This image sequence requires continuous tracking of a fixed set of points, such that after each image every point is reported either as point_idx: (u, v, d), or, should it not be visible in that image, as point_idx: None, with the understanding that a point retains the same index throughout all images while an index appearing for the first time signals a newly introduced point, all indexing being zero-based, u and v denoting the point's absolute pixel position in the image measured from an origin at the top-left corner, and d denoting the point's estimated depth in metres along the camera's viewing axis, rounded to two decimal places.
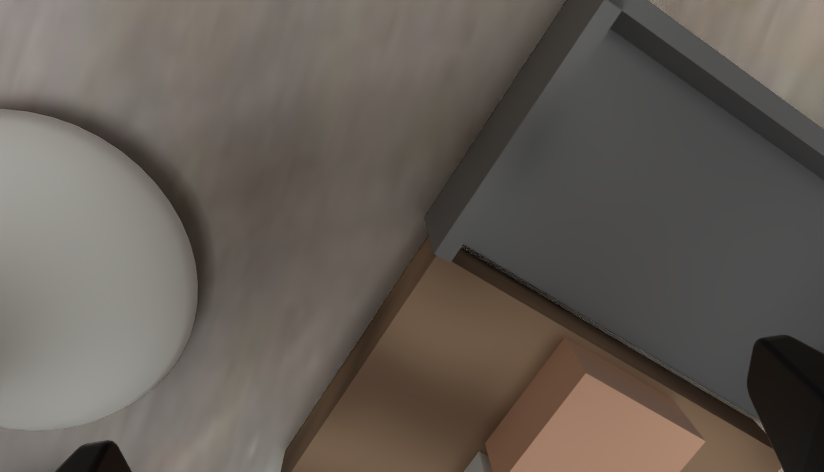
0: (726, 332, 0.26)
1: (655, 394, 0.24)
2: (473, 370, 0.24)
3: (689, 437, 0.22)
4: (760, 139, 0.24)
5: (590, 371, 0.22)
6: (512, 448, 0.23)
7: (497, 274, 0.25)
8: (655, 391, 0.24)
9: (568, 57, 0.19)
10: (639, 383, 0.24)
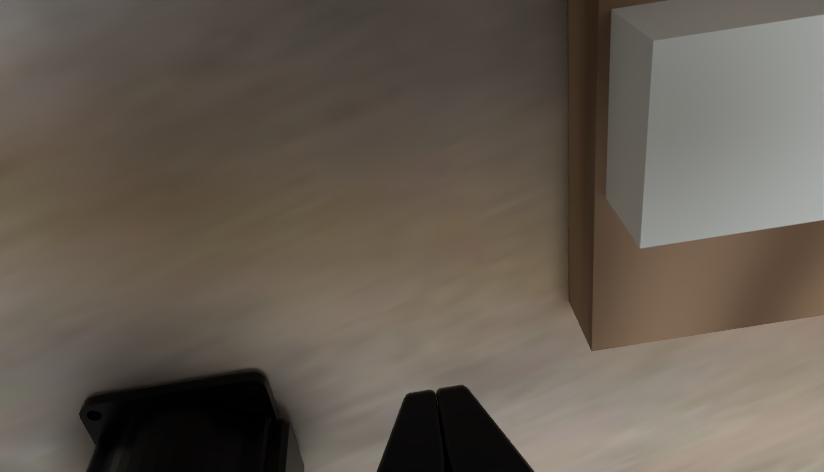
0: None
1: None
2: None
3: None
4: None
5: None
6: None
7: None
8: None
9: None
10: None
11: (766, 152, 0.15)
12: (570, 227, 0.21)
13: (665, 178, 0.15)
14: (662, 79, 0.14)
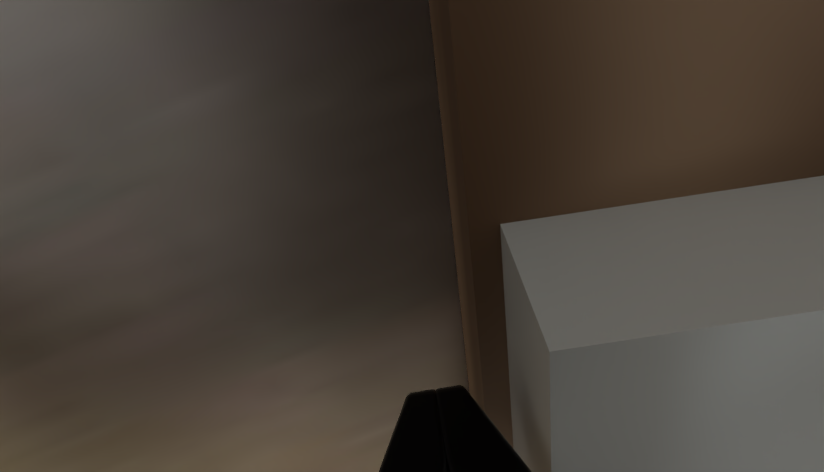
0: None
1: None
2: None
3: None
4: None
5: None
6: None
7: None
8: None
9: None
10: None
11: None
12: None
13: None
14: (572, 406, 0.07)
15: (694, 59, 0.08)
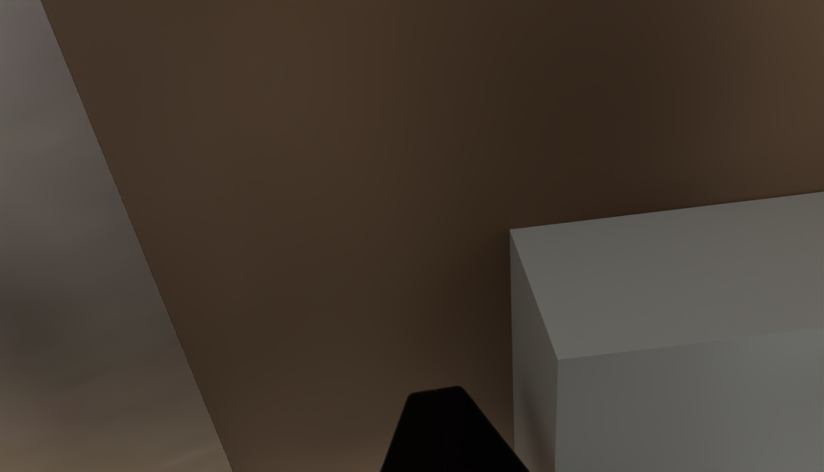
0: None
1: None
2: (786, 23, 0.08)
3: None
4: None
5: None
6: None
7: None
8: None
9: None
10: None
11: None
12: None
13: None
14: (580, 415, 0.07)
15: (340, 106, 0.08)
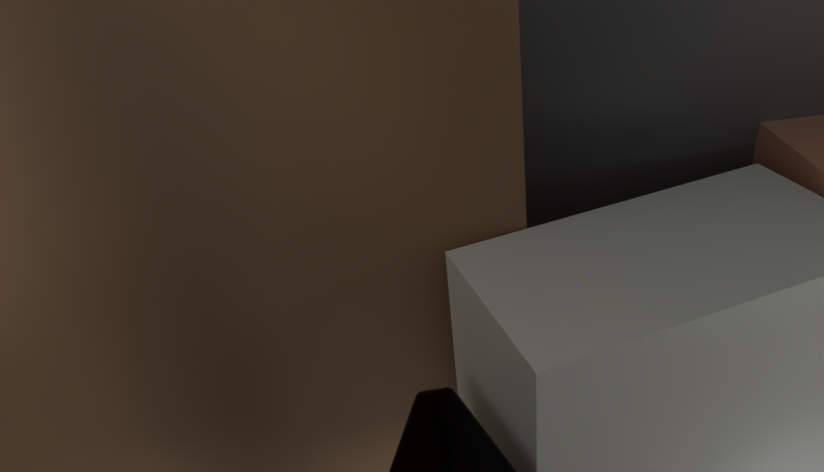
0: None
1: None
2: (268, 99, 0.08)
3: None
4: None
5: None
6: None
7: None
8: None
9: None
10: None
11: (719, 471, 0.09)
12: None
13: None
14: (556, 423, 0.07)
15: None
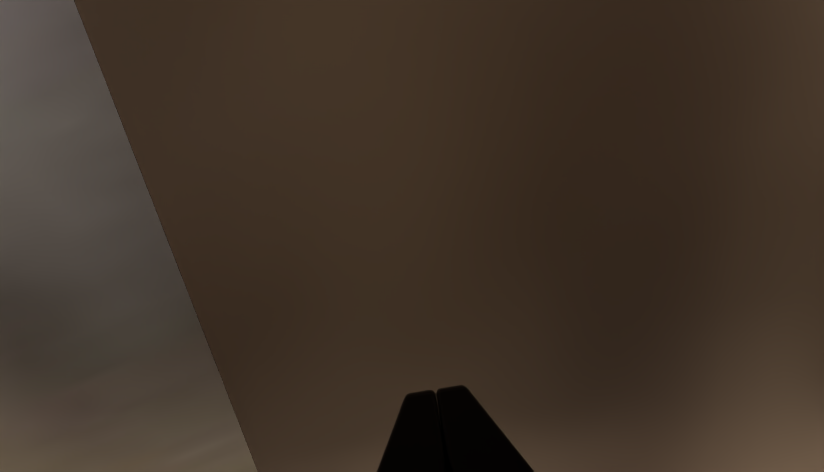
0: None
1: None
2: None
3: None
4: None
5: None
6: None
7: None
8: None
9: None
10: None
11: None
12: None
13: None
14: None
15: (368, 81, 0.08)
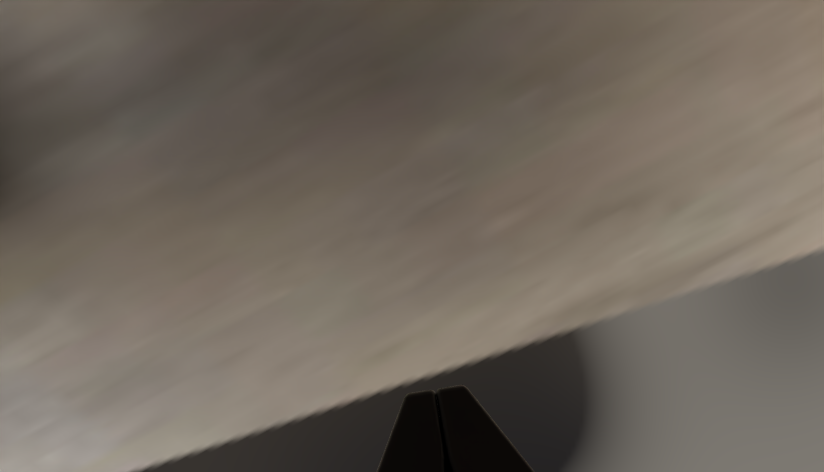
0: None
1: None
2: None
3: None
4: None
5: None
6: None
7: None
8: None
9: None
10: None
11: None
12: None
13: None
14: None
15: None
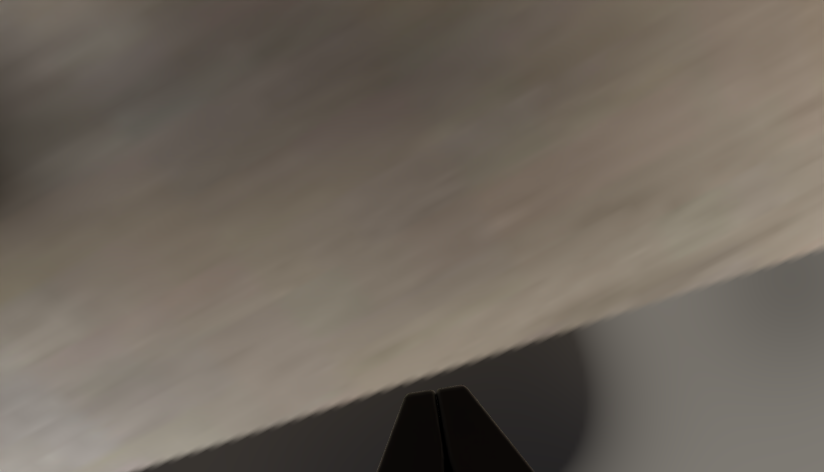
0: None
1: None
2: None
3: None
4: None
5: None
6: None
7: None
8: None
9: None
10: None
11: None
12: None
13: None
14: None
15: None
